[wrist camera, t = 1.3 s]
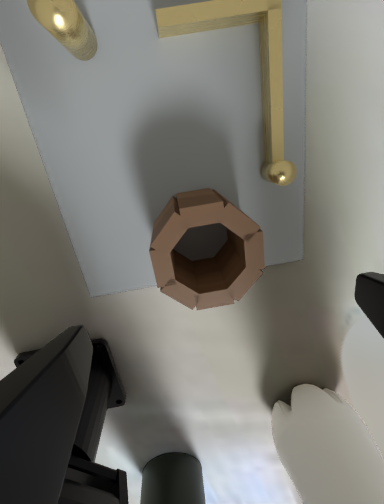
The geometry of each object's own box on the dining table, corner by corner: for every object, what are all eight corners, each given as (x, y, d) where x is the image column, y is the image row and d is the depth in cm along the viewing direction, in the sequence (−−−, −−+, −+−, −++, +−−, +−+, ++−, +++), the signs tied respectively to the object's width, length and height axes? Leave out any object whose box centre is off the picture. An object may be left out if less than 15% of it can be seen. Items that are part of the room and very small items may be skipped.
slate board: (297, 254, 18) (303, 259, 17) (94, 291, 17) (91, 297, 17) (298, -69, 12) (308, -84, 11) (-15, -23, 11) (-27, -35, 11)
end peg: (101, 58, 12) (77, 25, 9) (71, 62, 12) (36, 31, 9) (92, 20, 12) (63, -30, 8) (60, 25, 11) (19, -23, 8)
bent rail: (280, 179, 15) (296, 183, 13) (184, 195, 15) (187, 202, 13) (277, 3, 12) (297, -23, 10) (156, 22, 12) (154, -2, 10)
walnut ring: (244, 264, 17) (266, 297, 13) (165, 278, 17) (164, 316, 13) (237, 182, 15) (261, 194, 11) (147, 198, 15) (140, 215, 11)
